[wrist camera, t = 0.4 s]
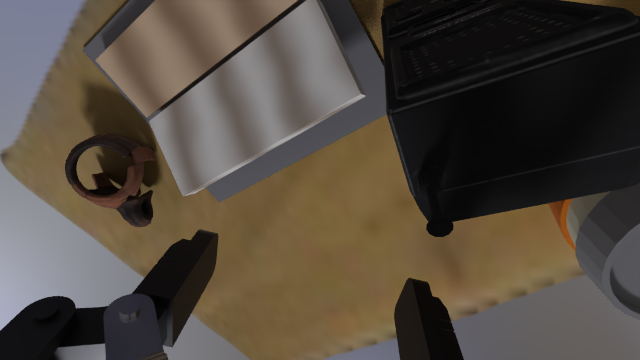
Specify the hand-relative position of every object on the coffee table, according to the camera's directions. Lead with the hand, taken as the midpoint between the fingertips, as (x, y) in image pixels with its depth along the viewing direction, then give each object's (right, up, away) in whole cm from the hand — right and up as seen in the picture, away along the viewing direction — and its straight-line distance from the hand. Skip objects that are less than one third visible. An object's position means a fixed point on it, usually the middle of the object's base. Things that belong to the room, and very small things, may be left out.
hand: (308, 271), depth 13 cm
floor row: (-11, +18, +17) cm, 28 cm away
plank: (-7, +11, +19) cm, 23 cm away
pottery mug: (-23, +5, +29) cm, 38 cm away
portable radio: (+10, +17, +15) cm, 25 cm away
